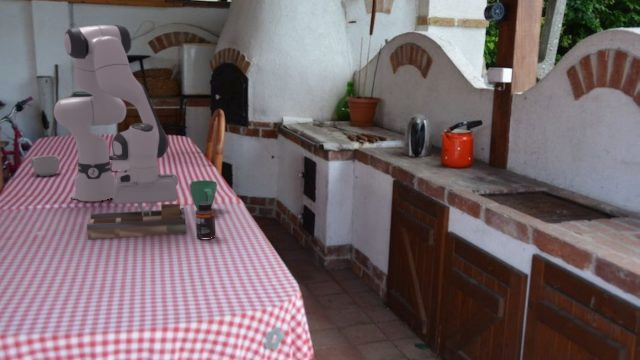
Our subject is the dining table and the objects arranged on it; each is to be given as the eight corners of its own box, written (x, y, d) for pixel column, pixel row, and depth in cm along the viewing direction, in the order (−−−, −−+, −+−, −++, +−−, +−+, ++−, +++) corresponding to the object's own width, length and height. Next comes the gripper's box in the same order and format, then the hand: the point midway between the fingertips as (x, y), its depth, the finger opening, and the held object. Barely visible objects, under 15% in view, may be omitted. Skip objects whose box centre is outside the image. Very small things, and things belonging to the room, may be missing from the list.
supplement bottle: (213, 233, 205) (212, 199, 202) (217, 239, 199) (216, 204, 197) (194, 235, 203) (193, 201, 200) (198, 241, 197) (197, 206, 195)
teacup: (65, 174, 285) (63, 157, 283) (43, 178, 276) (42, 160, 274) (45, 170, 292) (44, 153, 290) (24, 174, 283) (22, 157, 281)
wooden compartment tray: (91, 226, 210) (91, 212, 209) (184, 221, 217) (183, 207, 216) (87, 238, 197) (86, 223, 196) (186, 233, 205) (185, 218, 204)
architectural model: (150, 175, 288) (149, 153, 286) (92, 177, 282) (90, 155, 280) (150, 166, 307) (149, 146, 305) (96, 168, 301) (94, 147, 299)
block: (161, 217, 211) (161, 204, 210) (180, 216, 212) (179, 203, 211) (161, 222, 205) (161, 209, 204) (180, 221, 207) (180, 208, 206)
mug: (187, 207, 234) (186, 181, 232) (213, 205, 238) (212, 179, 236) (197, 218, 221) (196, 190, 219) (224, 215, 225) (224, 188, 223)
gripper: (177, 170, 210) (178, 211, 213) (112, 173, 204) (114, 214, 208) (178, 175, 204) (179, 216, 207) (111, 177, 198) (113, 220, 202)
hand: (146, 215), depth 207 cm, fingers closed
